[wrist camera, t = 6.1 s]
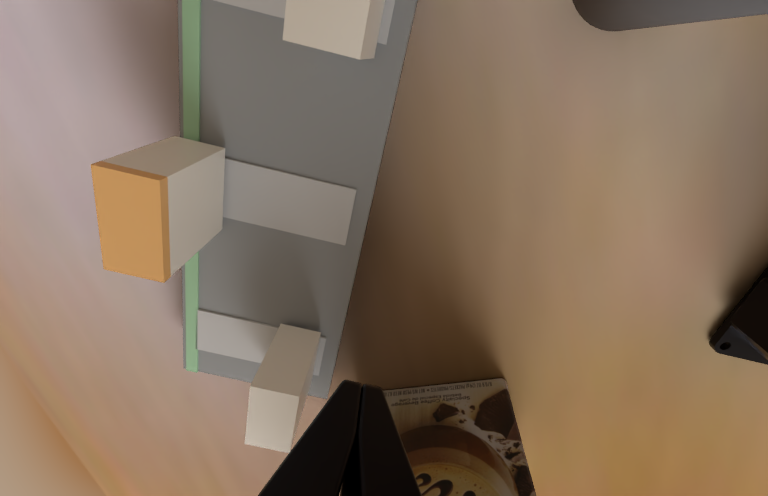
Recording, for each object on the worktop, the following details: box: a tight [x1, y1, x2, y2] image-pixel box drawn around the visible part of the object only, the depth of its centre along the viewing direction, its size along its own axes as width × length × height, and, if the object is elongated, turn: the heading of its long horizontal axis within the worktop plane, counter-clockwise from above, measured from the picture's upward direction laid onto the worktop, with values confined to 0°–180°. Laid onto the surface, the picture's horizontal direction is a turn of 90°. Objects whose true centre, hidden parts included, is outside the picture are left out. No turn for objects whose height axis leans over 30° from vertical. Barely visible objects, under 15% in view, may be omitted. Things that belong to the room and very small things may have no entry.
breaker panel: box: [178, 0, 418, 399], centre depth 17 cm, size 8×22×2 cm, turn 167°
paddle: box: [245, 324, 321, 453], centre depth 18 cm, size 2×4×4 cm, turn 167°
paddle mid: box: [91, 136, 225, 283], centre depth 14 cm, size 2×4×4 cm, turn 167°
